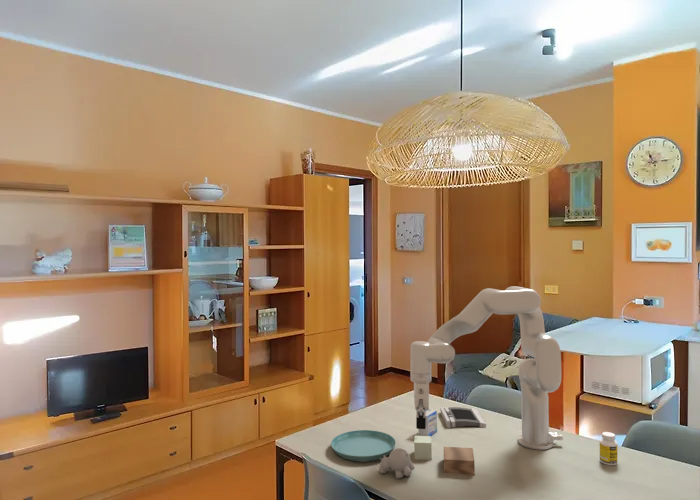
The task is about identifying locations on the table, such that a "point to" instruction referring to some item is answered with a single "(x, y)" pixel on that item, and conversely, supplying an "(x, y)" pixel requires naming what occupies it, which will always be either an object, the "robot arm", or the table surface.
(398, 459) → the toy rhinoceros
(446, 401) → the table surface
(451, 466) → the walnut block
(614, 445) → the supplement bottle
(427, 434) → the medicine box
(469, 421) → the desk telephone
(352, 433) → the teal plate
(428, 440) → the sage cube
